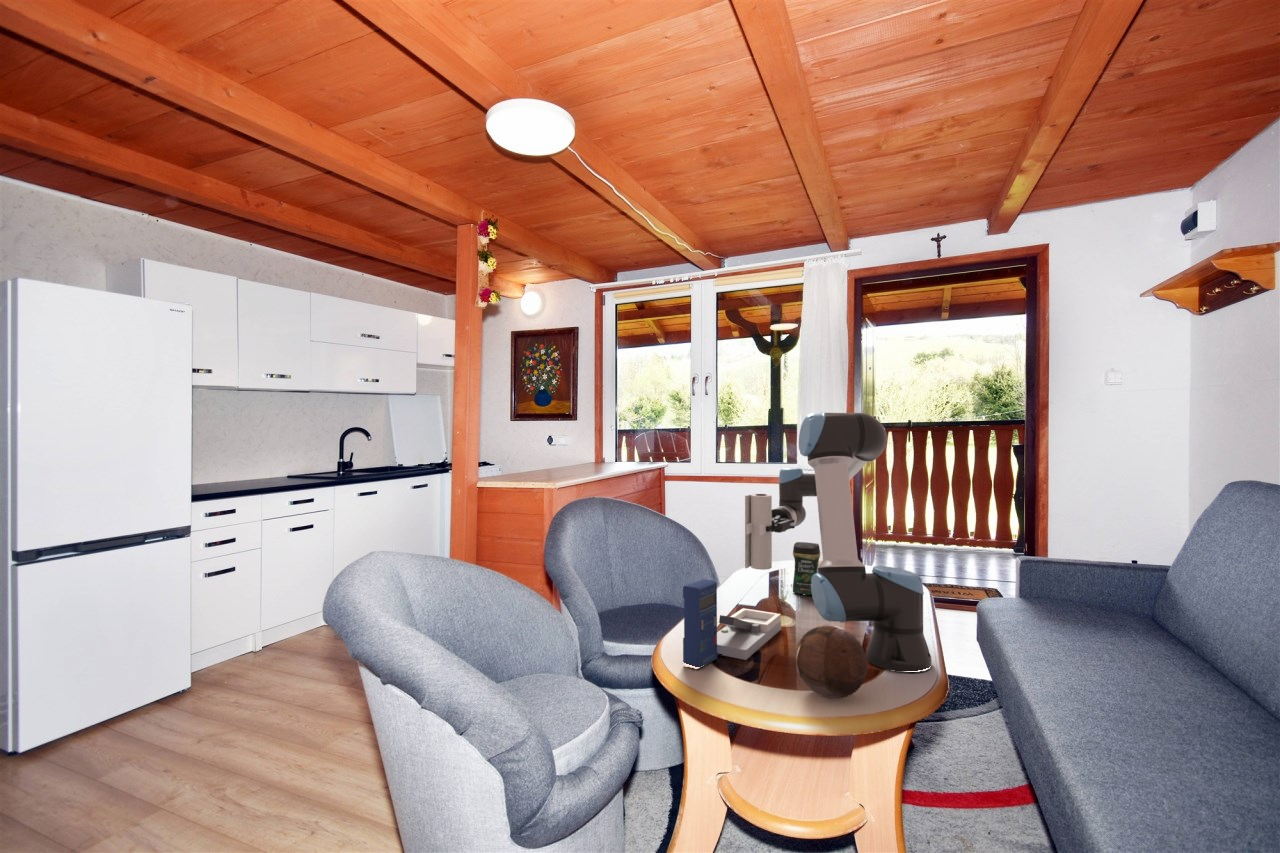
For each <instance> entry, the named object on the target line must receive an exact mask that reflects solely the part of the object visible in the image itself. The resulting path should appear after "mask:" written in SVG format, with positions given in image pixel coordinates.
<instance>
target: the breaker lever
mask: <svg viewBox="0 0 1280 853" xmlns="http://www.w3.org/2000/svg"><path fill="white" fill-rule="evenodd" d="M718 619H719V621H718V622H719V624H721V625H724V626H730V627H733V628H736V629H741V630H747V631H751V630H752V624H751V623H748V622H745V621H743V620H740V619H737V618H734V617H730V616H727V615H721V614H720V615H719V618H718Z"/></svg>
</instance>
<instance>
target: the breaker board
mask: <svg viewBox="0 0 1280 853" xmlns="http://www.w3.org/2000/svg"><path fill="white" fill-rule="evenodd" d="M729 617H734V618H737V619H740V620H743V621H745V622H748V623H751V624H752V630H751V631H747V630H741V629H736V628H733V627H730V626H727V625H725V626H724V627H722V628H721V629H720V630H717V653H719V654H722V655H721V656H724V657H730V658H735V659H740V660H745V661H747V660H748V659H749V658H751V656H753V654H754V653H756V652H757V651H758V650H760V649H761V647H763V646H764V645H765V644H766V643H767V642H768V641H769V640H771V639H772V638H773V637H774V636H775V635H776V634H778V633H779V632H780V631H781V630H782V615H781V613H776V612H769V611H763V610H757V609H750V608H745V607H742V608H741V609H739V610H738V611H737V612H734V613H733V614H731V616H729ZM719 654H718V655H719Z"/></svg>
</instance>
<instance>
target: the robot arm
mask: <svg viewBox="0 0 1280 853" xmlns="http://www.w3.org/2000/svg"><path fill="white" fill-rule="evenodd" d="M887 443H888V436H887V431H886V429H885V427H884V425H883V424H882V423H881V421H879V420H878V419H877V418H876V417H874V416H872V415H870V414H867V413H864V412H823V411H822V412H818V413H817V412H816V413H815V412H814V413H813V412H812V413H809V414H807V415H806V416H805V417H804V419H803V420H802V422H801V425H800V429H799V434H798V450H799V453H800V455H801V456H803V457H806V458H807V464H808V466H810V467H811V468H812V469H813V470H814V473H804V472H803V469H802V468H800V467H782V468H781V469H780V470H779V475H778V477H779V478H778V491H779V492H778V493H779V494H778V496H779V500H778V501H779V502H778V507H776V508H773V509H772V525H771V526H766V524H762V525H759V535H764V534H766V531H767V532H770V531H772V533H784V532H786V531H788V530H791V529H795V528H796V527H798V526H799V525H801V524H802V523H803V522H804V521H805V519H806V516H807V512H806V509H805V507H804V504H803V501H804V500H803V499H804V498H803V497H805V498H806V497H816V499H817V510H818V520H819V521H818V522H819V533H820V542H821V543H820V544H821V551H822V552H821V553H822V560H821V562H820V563H818V573H816V574H814V575H813V576H812V579H811V583H812V584H811V592H812V596H811V597H812V600H813V603H814V607H815V608H816V610H817V612H818V614H819V616H821V618H822V619H824V620H825V621H828V622H839V623H845V622H850V623H851V622H872V624H873V629H872V631H871V634H870V638H869V641H868V645H867V646H866V650H865V651H866V652H865V655H866V659H867V662H868V663H870V664H872V665H873V666H876V667H878V668H881V669H883V670H887V671H891V670H895V671H894V672H896V671H918V670H923V669H926V668H929V667H930V666H931V664H932V665H933V663H932V655H931V653H930V651H929V646H928V642H927V640H926V637H925V634H924V594H925V592H924V587H923V586H924V584H923V579H922V578H921V576H920V575H918V574H917V573H916V572H913V571H910V570H907V569H903V568H898V567H891V566H883V565H877V566H873V568H872V569H871V573H870V572H869V573H867V572H866V565H865V564H864V563H863V562H861V560H859V557H858V548H857V539H856V538H857V537H856V529H855V527H856V526H855V520H854V511H853V502H852V493H851V483H850V481H851V480H852V478H854V476H856V475H857V473H859V472H860V471H861V469H863V467H865V465H866V464H868V463H869V462H873V461H876V459H878V458H879V457H880V456H881V455H882V454H883V453H884V451H885V449H886V446H887ZM750 533H753V523H749V524H746V534H750Z"/></svg>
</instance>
